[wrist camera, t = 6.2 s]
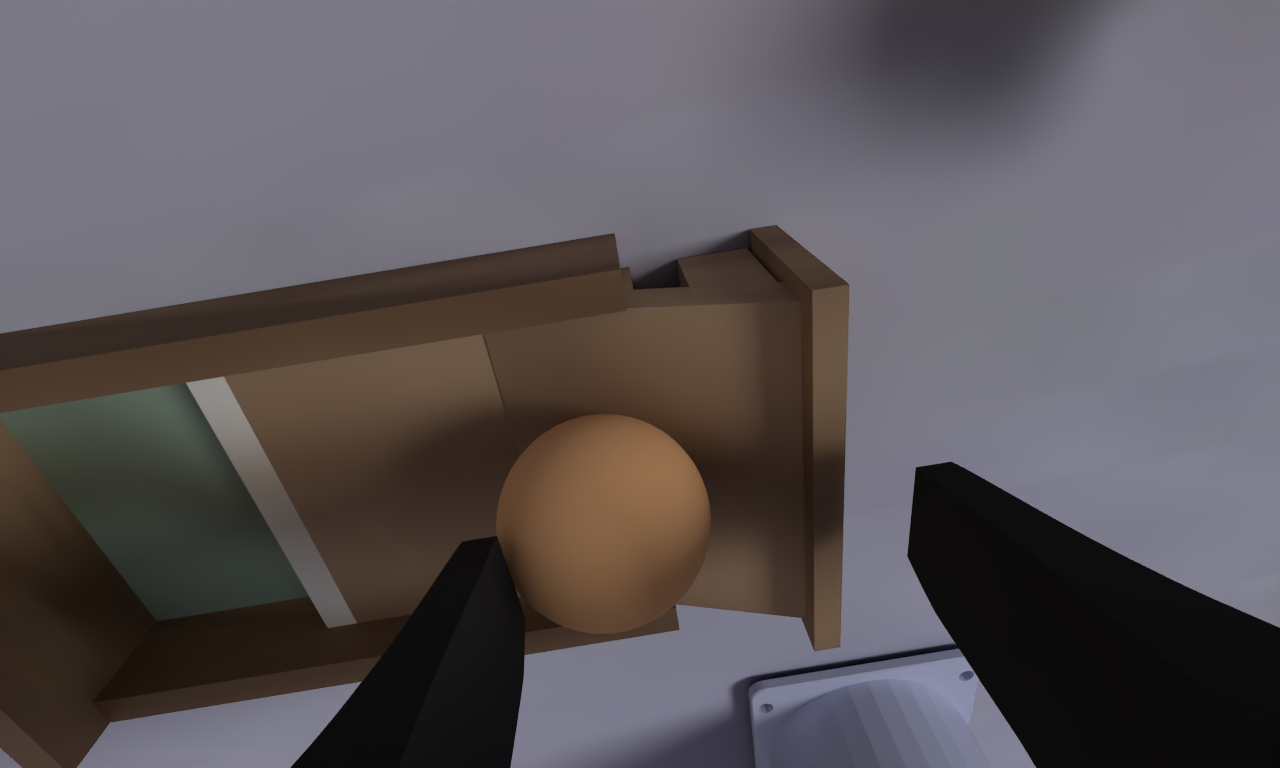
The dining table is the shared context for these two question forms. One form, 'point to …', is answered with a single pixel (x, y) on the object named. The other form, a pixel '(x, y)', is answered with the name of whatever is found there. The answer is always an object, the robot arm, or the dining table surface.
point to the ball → (603, 523)
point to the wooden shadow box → (384, 465)
